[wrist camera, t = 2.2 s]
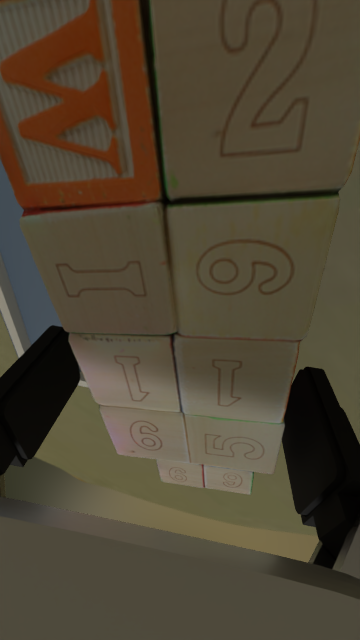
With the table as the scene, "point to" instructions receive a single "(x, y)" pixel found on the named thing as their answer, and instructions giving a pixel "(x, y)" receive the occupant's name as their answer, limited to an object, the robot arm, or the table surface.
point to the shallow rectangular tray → (21, 279)
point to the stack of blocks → (182, 205)
